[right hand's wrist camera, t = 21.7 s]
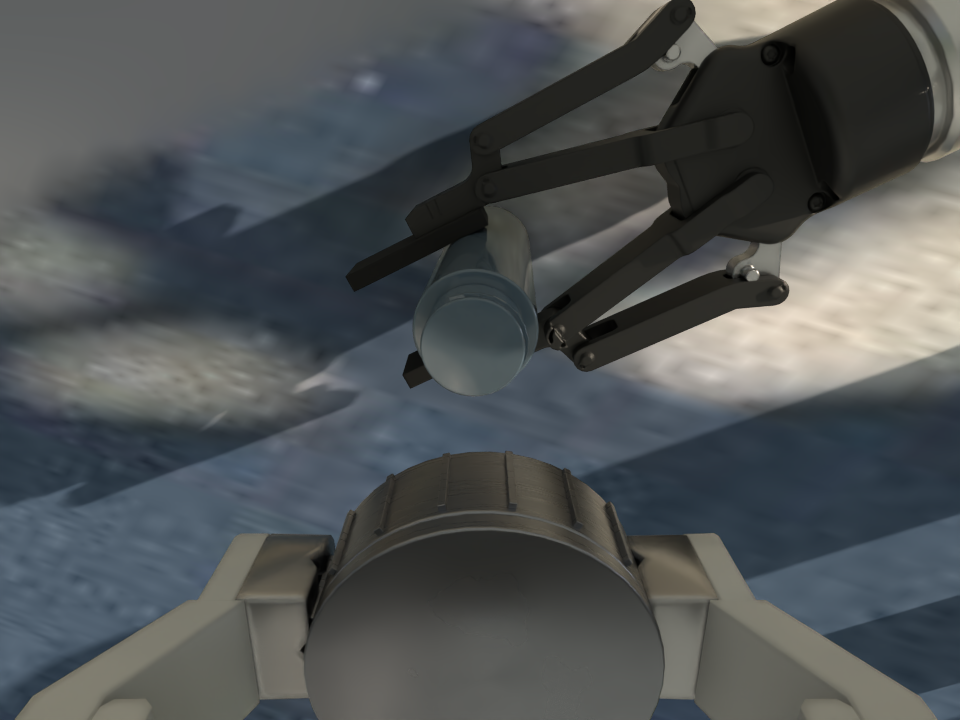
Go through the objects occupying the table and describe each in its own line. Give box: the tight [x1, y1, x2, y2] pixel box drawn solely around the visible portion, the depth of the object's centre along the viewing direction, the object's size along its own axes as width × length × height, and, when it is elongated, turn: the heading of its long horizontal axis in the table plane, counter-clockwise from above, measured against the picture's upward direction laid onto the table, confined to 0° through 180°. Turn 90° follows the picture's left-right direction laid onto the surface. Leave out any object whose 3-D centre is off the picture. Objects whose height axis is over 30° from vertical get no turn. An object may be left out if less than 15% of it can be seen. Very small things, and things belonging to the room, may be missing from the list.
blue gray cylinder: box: [413, 206, 539, 396], centre depth 28 cm, size 4×4×16 cm
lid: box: [304, 451, 665, 720], centre depth 10 cm, size 5×5×2 cm
